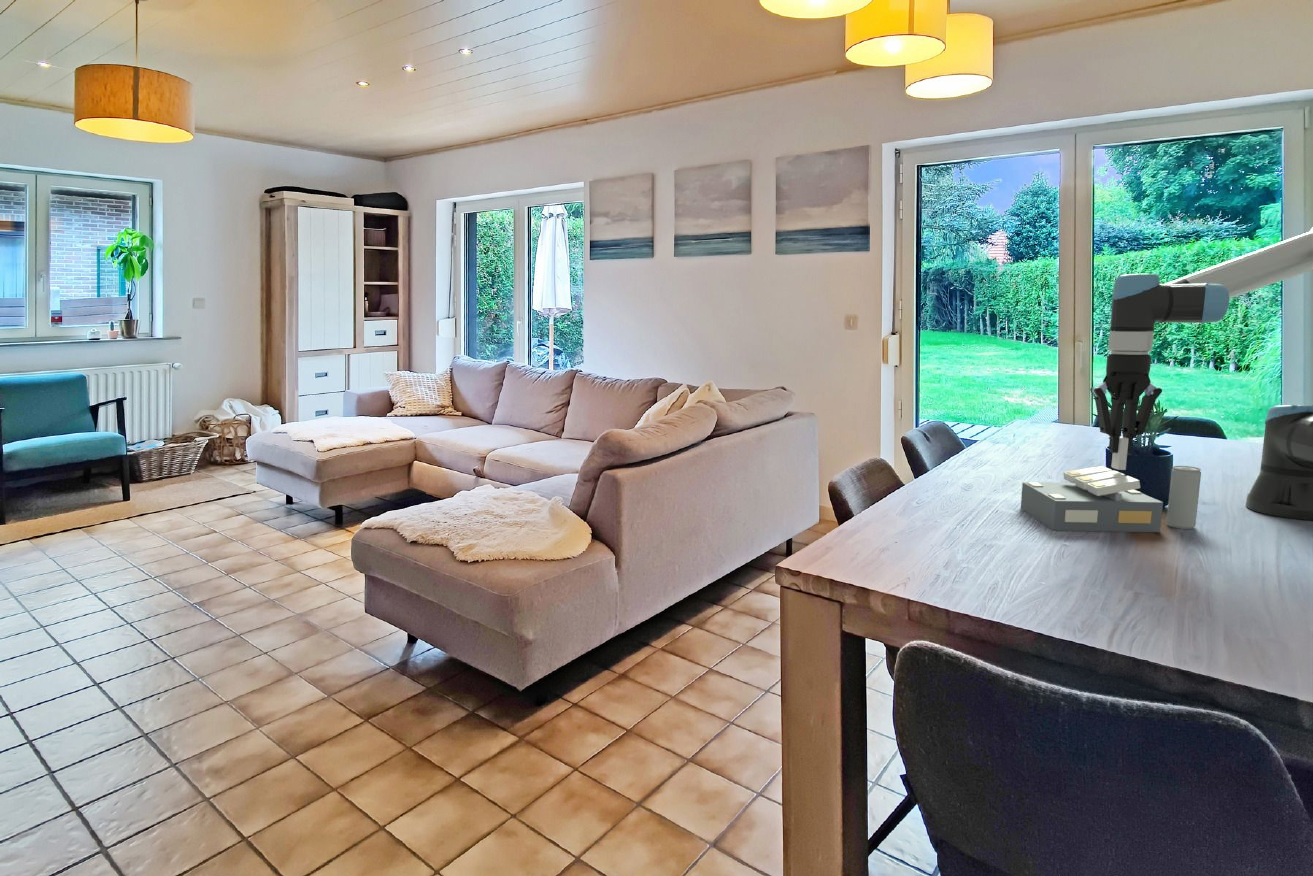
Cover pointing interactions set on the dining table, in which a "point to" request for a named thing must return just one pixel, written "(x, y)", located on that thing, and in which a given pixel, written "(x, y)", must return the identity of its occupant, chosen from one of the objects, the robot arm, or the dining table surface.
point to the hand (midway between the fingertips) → (1118, 468)
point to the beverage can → (1183, 497)
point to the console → (1090, 508)
